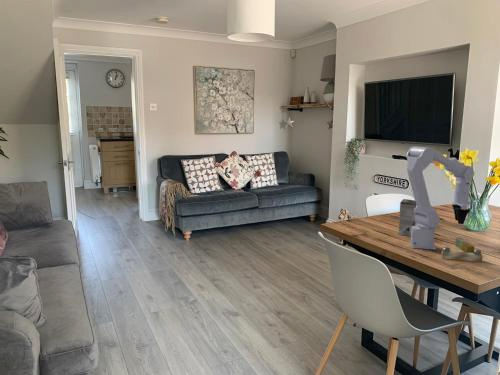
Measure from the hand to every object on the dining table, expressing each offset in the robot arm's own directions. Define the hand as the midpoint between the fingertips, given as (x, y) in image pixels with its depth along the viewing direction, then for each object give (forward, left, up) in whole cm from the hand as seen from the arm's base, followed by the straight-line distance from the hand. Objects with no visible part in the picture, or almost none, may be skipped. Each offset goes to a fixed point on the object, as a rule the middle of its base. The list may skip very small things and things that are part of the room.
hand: (459, 222), depth 174 cm
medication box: (0, -11, -10) cm, 15 cm away
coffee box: (-21, +9, -10) cm, 25 cm away
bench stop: (-3, -24, -9) cm, 26 cm away
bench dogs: (-3, -24, -9) cm, 26 cm away
